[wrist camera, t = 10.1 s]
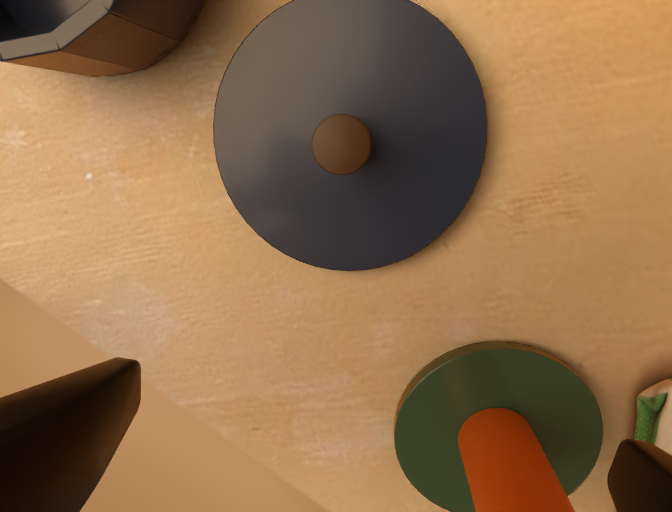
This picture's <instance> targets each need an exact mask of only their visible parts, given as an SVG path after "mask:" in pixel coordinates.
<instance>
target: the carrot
mask: <svg viewBox="0 0 672 512" xmlns="http://www.w3.org/2000/svg"><path fill="white" fill-rule="evenodd" d="M458 445H459V449H460V453H461V457H462V461H463V464H464V468H465V472H466V476H467V480H468V483H469V487H470V491H471V495H472V498H473V502H474V506H475V510H476V512H575V511H574V509H573V507H572V505H571V503H570V501H569V499H568V497H567V495H566V493H565V491H564V490H563V488H562V486H561V484H560V482H559V480H558V478H557V476H556V474H555V472H554V470H553V468H552V466H551V465H550V463H549V461H548V459H547V457H546V455H545V453H544V451H543V449H542V447H541V445H540V443H539V441H538V440H537V438H536V436H535V434H534V432H533V430H532V428H531V426H530V424H529V423H528V421H527V420H526V419H525V418H524V417H523V416H521V415H520V414H518V413H517V412H514V411H512V410H509V409H505V408H488V409H484V410H481V411H479V412H477V413H475V414H473V415H472V416H470V417H469V418H468V419H467V420H466V421H465V422H464V423H463V425H462V427H461V429H460V431H459V435H458Z"/></svg>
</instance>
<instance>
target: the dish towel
mask: <svg viewBox="0 0 672 512" xmlns="http://www.w3.org/2000/svg"><path fill="white" fill-rule="evenodd" d="M636 403H637V421H636V427H635V434H634V440H641V441H647V442H650V443H652V444H654V445H655V446H657V447H659V448H660V449H662V450H664V451H665V452H667V453H669V454H670V455H672V378H669V379H665V380H663V381H661V382H659V383H657V384H655V385H653V386H651V387H649V388H648V389H646V390H644V391H643V392H641V393H640V394H639V395H638V396H637V401H636Z"/></svg>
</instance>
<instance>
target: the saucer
mask: <svg viewBox="0 0 672 512" xmlns="http://www.w3.org/2000/svg"><path fill="white" fill-rule="evenodd" d="M488 408H505V409H509V410H512V411H514V412H517V413H518V414H520V415H521V416H523V417H524V418H525V419H526V420H527V421H528V423H529V424H530V426H531V428H532V430H533V432H534V434H535V436H536V438H537V440H538V441H539V443H540V445H541V447H542V449H543V451H544V453H545V455H546V457H547V459H548V461H549V463H550V465H551V466H552V468H553V470H554V472H555V474H556V476H557V478H558V480H559V482H560V484H561V486H562V488H563V490H564V491H565V493H566V495H567V496H569V495H570V494H571V493H573V492H574V491H575V490H576V489H577V488H578V487H579V486H580V485H581V484H582V483H583V481H584V480H585V479H586V478H587V477H588V475H589V473H590V472H591V470H592V469H593V467H594V465H595V463H596V461H597V458H598V456H599V453H600V449H601V445H602V437H603V427H602V418H601V414H600V409H599V407H598V404H597V402H596V400H595V398H594V396H593V394H592V393H591V391H590V389H589V388H588V387H587V385H586V384H585V383H584V382H583V380H582V379H581V378H580V377H579V376H578V375H577V373H576V372H575V371H574V370H573V369H572V368H570V367H569V366H568V365H567V364H566V363H565V362H563V361H562V360H560V359H559V358H557V357H556V356H554V355H552V354H550V353H548V352H546V351H544V350H541V349H538V348H535V347H532V346H529V345H524V344H519V343H513V342H484V343H477V344H472V345H468V346H464V347H461V348H458V349H455V350H453V351H450V352H448V353H446V354H444V355H442V356H440V357H439V358H437V359H435V360H434V361H432V362H431V363H430V364H428V365H427V366H425V367H424V368H423V369H422V370H421V371H420V372H419V373H418V374H417V375H416V376H415V377H414V378H413V379H412V381H411V382H410V383H409V384H408V386H407V387H406V389H405V391H404V392H403V394H402V396H401V398H400V401H399V403H398V405H397V409H396V413H395V418H394V443H395V450H396V455H397V458H398V461H399V464H400V466H401V468H402V470H403V472H404V474H405V475H406V477H407V478H408V480H409V481H410V482H411V484H412V485H413V486H414V487H415V488H416V489H417V490H418V491H419V492H420V493H421V494H422V495H423V496H424V497H426V498H427V499H428V500H430V501H431V502H433V503H434V504H436V505H438V506H439V507H441V508H443V509H446V510H448V511H450V512H476V510H475V506H474V502H473V498H472V495H471V491H470V487H469V483H468V480H467V476H466V472H465V468H464V464H463V461H462V457H461V453H460V449H459V445H458V435H459V431H460V429H461V427H462V425H463V423H464V422H465V421H466V420H467V419H468V418H469V417H470V416H472V415H473V414H475V413H477V412H479V411H481V410H484V409H488Z"/></svg>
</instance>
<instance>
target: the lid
mask: <svg viewBox="0 0 672 512" xmlns="http://www.w3.org/2000/svg"><path fill="white" fill-rule="evenodd" d="M213 133H214V148H215V154H216V161H217V164H218V168H219V171H220V175H221V178H222V181H223V183H224V185H225V188H226V190H227V193H228V195H229V197H230V198H231V200H232V202H233V204H234V205H235V207H236V209H237V210H238V212H239V213H240V214H241V216H242V217H243V218H244V220H245V221H246V222H247V223H248V224H249V226H250V227H251V228H252V229H253V230H254V231H255V232H256V233H257V234H258V235H259V236H260V237H262V238H263V239H264V240H265V241H266V242H268V243H269V244H270V245H271V246H273V247H274V248H276V249H278V250H279V251H281V252H282V253H284V254H286V255H288V256H290V257H292V258H294V259H296V260H298V261H300V262H303V263H306V264H309V265H312V266H315V267H320V268H325V269H330V270H341V271H358V270H368V269H374V268H379V267H383V266H386V265H390V264H393V263H396V262H399V261H401V260H403V259H405V258H407V257H410V256H412V255H414V254H415V253H417V252H418V251H420V250H422V249H423V248H425V247H427V246H428V245H429V244H430V243H432V242H433V241H434V240H435V239H437V238H438V237H439V236H440V235H441V234H442V233H443V232H444V231H445V230H446V229H447V228H448V227H449V226H450V225H451V224H452V223H453V222H454V220H455V219H456V218H457V216H458V215H459V214H460V212H461V211H462V210H463V208H464V207H465V205H466V203H467V201H468V200H469V198H470V196H471V195H472V193H473V190H474V188H475V186H476V183H477V181H478V178H479V176H480V172H481V169H482V165H483V161H484V158H485V151H486V144H487V113H486V105H485V99H484V95H483V91H482V87H481V83H480V80H479V78H478V75H477V73H476V70H475V68H474V66H473V63H472V62H471V60H470V58H469V56H468V55H467V53H466V51H465V49H464V48H463V46H462V45H461V44H460V42H459V41H458V40H457V39H456V37H455V36H454V35H453V33H452V32H451V31H450V30H449V29H448V28H447V27H446V26H445V25H444V24H443V23H442V22H441V21H440V20H439V19H438V18H436V17H435V16H434V15H432V14H431V13H429V12H428V11H427V10H425V9H424V8H422V7H421V6H419V5H417V4H415V3H413V2H411V1H410V0H292V1H290V2H288V3H287V4H285V5H283V6H282V7H280V8H278V9H277V10H275V11H274V12H272V13H271V14H270V15H269V16H267V17H266V18H265V19H264V20H262V21H261V22H260V23H259V24H258V25H257V26H256V27H255V28H254V29H253V30H252V31H251V32H250V33H249V35H248V36H247V37H246V38H245V39H244V41H243V42H242V43H241V45H240V46H239V48H238V49H237V51H236V52H235V53H234V55H233V57H232V59H231V61H230V63H229V65H228V67H227V69H226V71H225V73H224V76H223V79H222V82H221V84H220V87H219V91H218V95H217V100H216V104H215V112H214V122H213Z"/></svg>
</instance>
